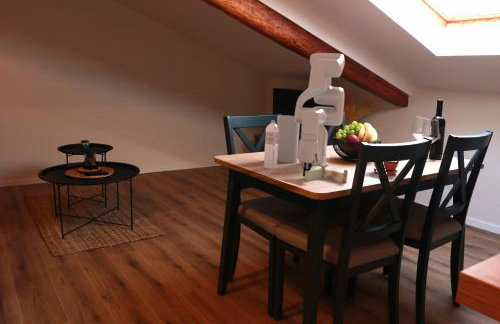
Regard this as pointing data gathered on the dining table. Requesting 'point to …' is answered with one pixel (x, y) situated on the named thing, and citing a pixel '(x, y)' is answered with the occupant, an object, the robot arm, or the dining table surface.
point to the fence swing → (313, 174)
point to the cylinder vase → (287, 139)
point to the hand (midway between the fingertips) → (306, 176)
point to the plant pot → (390, 167)
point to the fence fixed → (334, 175)
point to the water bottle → (271, 146)
